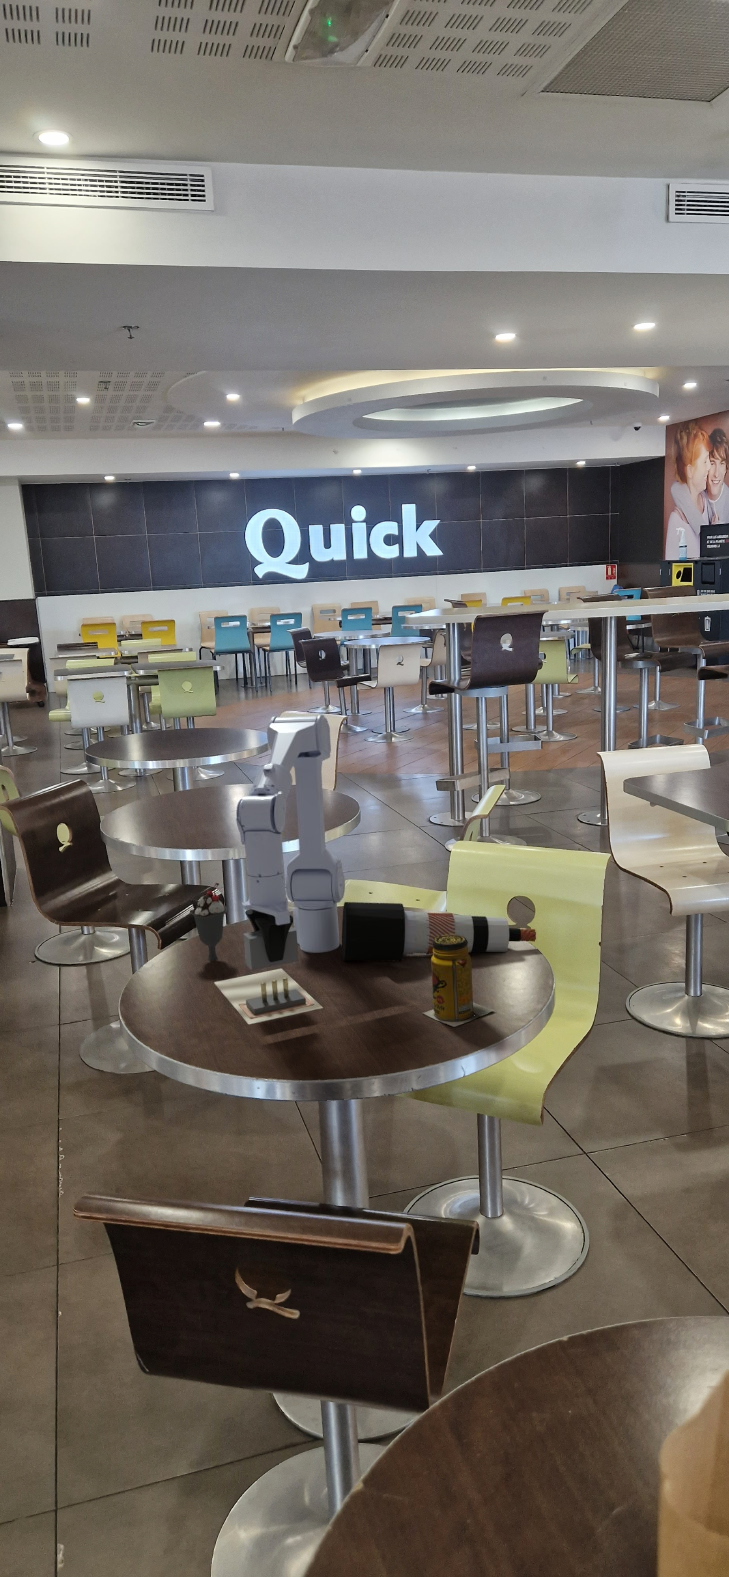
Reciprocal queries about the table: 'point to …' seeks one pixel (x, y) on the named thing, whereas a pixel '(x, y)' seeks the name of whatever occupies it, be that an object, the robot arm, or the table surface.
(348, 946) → the striped banded cylinder
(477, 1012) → the condiment
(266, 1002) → the board
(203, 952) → the table surface
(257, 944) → the block
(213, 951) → the sundae
